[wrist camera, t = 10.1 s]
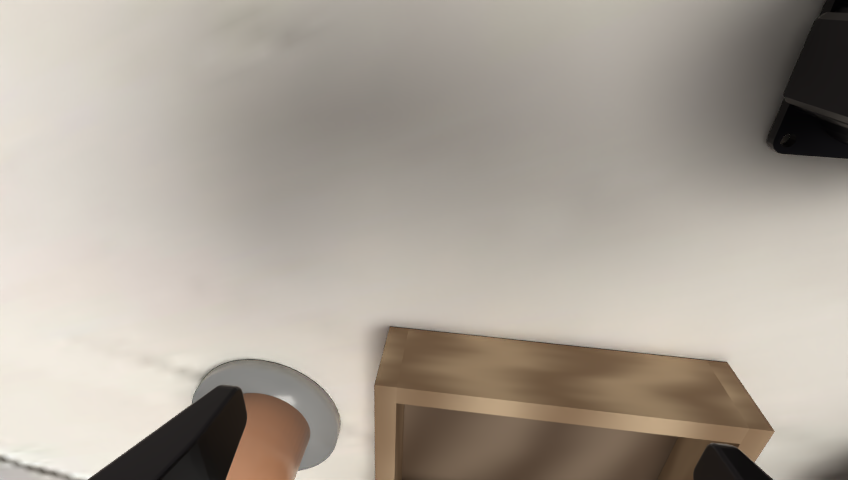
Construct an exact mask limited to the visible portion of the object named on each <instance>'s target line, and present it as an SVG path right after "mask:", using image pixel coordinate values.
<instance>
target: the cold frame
mask: <svg viewBox="0 0 848 480" xmlns="http://www.w3.org/2000/svg"><path fill="white" fill-rule="evenodd" d="M374 396H375V480H693V472H694V468H695V466H696V464H697V462H698V461H699V459H700V457H701V455H702V453H703V452H704V450H705V448H706V446H707V445H708V444H710V443H721V444H729V445H733V446H735V447H737V448H738V449H739V450H741V451H742V452H743V453H744V454H745V455H746V456H747V457H748V458H750V459H751V460H752V461H753V462H755V461H756V459H757V458H758V456H759V455H760V453H761V452H762V450H763V448H764V447H765V445H766V444H767V442H768V441H769V439H770V438H771V436H772V435H773V433H774V432H775V431H774V430H773V428H772V427H771V425H770V424H769V423H768V421H767V420H766V418H765V417H764V415H763V414H762V412H761V411H760V409H759V408H758V407H757V405H756V404H755V402H754V401H753V399H752V398H751V396H750V395H749V393H748V392H747V390H746V389H745V388H744V386H743V385H742V383H741V382H740V380H739V379H738V377H737V376H736V374H735V373H734V371H733V370H732V369H731V367H730V366H729V364H728V363H726V362H717V361H707V360H698V359H689V358H679V357H670V356H661V355H651V354H642V353H632V352H623V351H614V350H604V349H595V348H585V347H576V346H567V345H557V344H548V343H539V342H529V341H520V340H510V339H501V338H492V337H482V336H473V335H463V334H454V333H445V332H435V331H426V330H416V329H407V328H398V327H390V328H389V332H388V335H387V339H386V343H385V347H384V351H383V354H382V358H381V362H380V366H379V369H378V373H377V377H376V381H375V385H374Z"/></svg>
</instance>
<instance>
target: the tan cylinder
mask: <svg viewBox="0 0 848 480" xmlns="http://www.w3.org/2000/svg"><path fill="white" fill-rule="evenodd" d="M243 396H244V401H245V406H246V410H247V422H246V426H245V429H244V432H243V434H242V437H241V440H240V443H239V445H238V448H237V451H236V453H235V456H234V459H233V461H232V464H231V467H230V470H229V472H228V475H227V478H226V480H294V479H295V477H296V474H297V471H298V469H299V466H300V463H301V461H302V458H303V456H304V453H305V450H306V448H307V445H308V442H309V440H310V427H309V425H308V423H307V421H306V419H305V418H304V416H303V415H302V414H301V413H300V412H299V411H298V410H297V409H295V408H294V407H293V406H291V405H290V404H288V403H287V402H285V401H283V400H281V399H278V398H276V397H273V396H269V395H266V394H260V393H245V394H243Z"/></svg>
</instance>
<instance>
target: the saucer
mask: <svg viewBox="0 0 848 480" xmlns="http://www.w3.org/2000/svg"><path fill="white" fill-rule="evenodd" d="M219 385H232V386H238V387H240V388H241V389H242V392H243V394H245V393H260V394H266V395H269V396H273V397H276V398H278V399H281V400H283V401H285V402H287V403H288V404H290V405H291V406H293V407H294V408H295V409H297V410H298V411H299V412H300V413H301V414H302V415H303V416H304V418H305V419H306V421H307V423H308V425H309V427H310V440H309V442H308V445H307V448H306V450H305V453H304V456H303V458H302V461H301V463H300V466H299V469H298V471H299V470H305V469H308V468H311V467H314V466H316V465H318V464H320V463H322V462H323V461H325V460H326V459H327V458H328V457H329V456H330V454H331V453H332V452H333V450H334V448H335V445H336V442H337V439H338V436H339V432H340V417H339V413H338V410H337V408H336V406H335V404H334V402H333V401H332V400H331V398H330V397H329V395H328V394H327V393H326V392H325V391H324V390H323V389H322V388H321V387H320V386H319V385H317V384H316V383H315V382H314V381H312V380H311V379H309V378H308V377H306V376H305V375H303V374H301V373H299V372H297V371H295V370H293V369H291V368H288V367H285V366H283V365H280V364H276V363H272V362H267V361H261V360H238V361H232V362H229V363H225V364H223V365H220V366H218V367H216V368H215V369H213V370H212V371H210V372H209V373H208V374H207V375H206V377H205V378H204V379H203V381H202V382H201V384H200V385H199V386H198V388H197V389H196V391H195V393H194V395H193V399H192V404H193V403H194V402H196V401H197V400H198V399H200V398H201V397H203V396H204V395H205V394H207V393H208V392H210V391H211V390H212V389H214V388H215V387H217V386H219Z"/></svg>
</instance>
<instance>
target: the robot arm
mask: <svg viewBox="0 0 848 480" xmlns="http://www.w3.org/2000/svg"><path fill="white" fill-rule="evenodd" d="M783 96H784V100H783V102H782V105H781V107H780V109H779V112H778V114H777V116H776V119H775V121H774V123H773V126H772V128H771V130H770V133H769V135H768V138H767V144H768V147H770V148H771V149H772V150H774V151H776V152H778V153H782V154H793V155H806V156H820V157H833V158H846V159H848V0H826V2H825V5H824V7H823V9H822V12H821V14H820V16H819V18H817V19H816V20H815V21H814V23H813V26H812V28H811V31H810V33H809V35H808V38H807V40H806V42H805V45H804V47H803V49H802V52H801V54H800V56H799V59H798V61H797V63H796V66H795V68H794V70H793V73H792V75H791V77H790V80H789V82H788V84H787V87H786V89H785V91H784V94H783ZM787 134H790V136H789V139H788V140H787V141H786V142H785V143H783V144H780V143H781V139H782V138H783V137H784V136H785V135H787ZM246 422H247V410H246V406H245V401H244V396H243V392H242V389H241V388H240V387H238V386H232V385H219V386H217V387H215V388H214V389H212V390H211V391H210V392H208V393H207V394H205V395H204V396H203V397H201V398H200V399H198V400H197V401H196V402H194V403H193V404H192V405H190V406H189V407H187V408H186V409H185V410H183V411H182V412H180V413H179V414H178V415H176V416H175V417H174V418H172V419H171V420H169V421H168V422H167V423H165V424H164V425H162V426H161V427H160V428H158V429H157V430H156V431H154V432H153V433H151V434H150V435H149V436H147V437H146V438H145V439H143V440H142V441H140V442H139V443H138V444H136V445H135V446H133V447H132V448H131V449H129V450H128V451H127V452H125V453H124V454H122V455H121V456H120V457H118V458H117V459H115V460H114V461H113V462H111V463H110V464H109V465H107V466H106V467H104V468H103V469H102V470H100V471H99V472H98V473H96V474H95V475H93V476H92V477H91V478H89V479H88V480H226V478H227V475H228V472H229V470H230V467H231V464H232V461H233V459H234V456H235V453H236V451H237V448H238V445H239V443H240V440H241V437H242V434H243V432H244V429H245V426H246ZM693 480H773V479H772V478H771V477H770V476H769V475H767V474H766V473H765V472H764V471H763V470H762V469H761V468H760V467H759V466H757V465H756V464H755V463H754V462H753V461H752V460H751V459H750V458H748V457H747V456H746V455H745V454H744V453H743V452H742V451H741V450H739V449H738V448H737V447H735V446H733V445H729V444H721V443H710V444H708V445H707V446H706V448H705V450H704V452H703V453H702V455H701V457H700V459H699V461H698V462H697V464H696V466H695V468H694V472H693Z"/></svg>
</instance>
